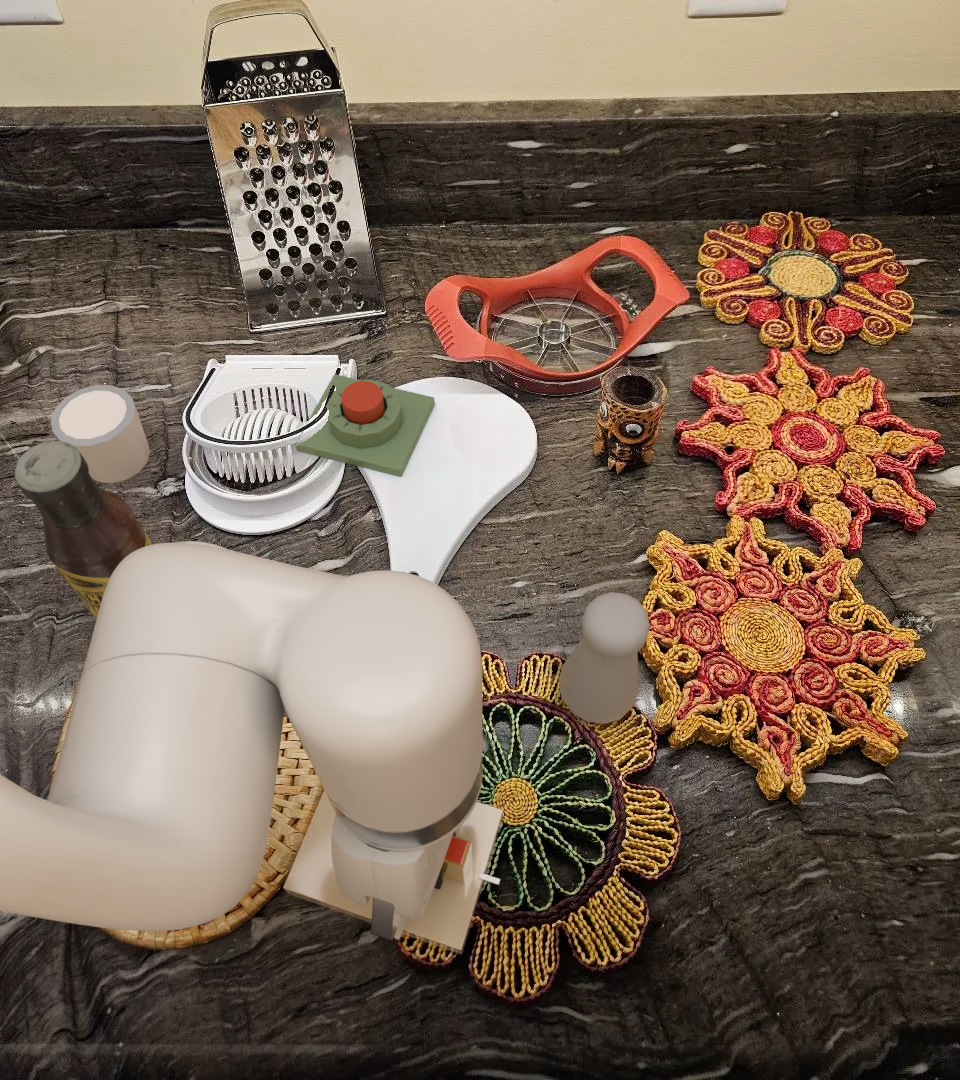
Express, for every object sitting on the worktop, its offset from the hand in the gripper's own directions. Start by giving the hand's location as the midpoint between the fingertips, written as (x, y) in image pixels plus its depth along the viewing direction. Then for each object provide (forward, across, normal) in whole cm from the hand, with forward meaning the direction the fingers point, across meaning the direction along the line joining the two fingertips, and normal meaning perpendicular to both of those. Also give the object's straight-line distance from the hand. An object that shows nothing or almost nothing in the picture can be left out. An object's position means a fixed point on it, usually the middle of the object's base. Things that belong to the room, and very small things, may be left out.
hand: (425, 857), depth 56 cm
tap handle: (0, 0, 0) cm, 0 cm away
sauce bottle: (+3, -12, -28) cm, 30 cm away
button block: (+3, -35, -18) cm, 39 cm away
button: (0, -35, -18) cm, 39 cm away
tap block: (+3, 0, -2) cm, 4 cm away
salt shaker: (+3, -16, +8) cm, 18 cm away
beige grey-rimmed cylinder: (+3, -25, -38) cm, 45 cm away
